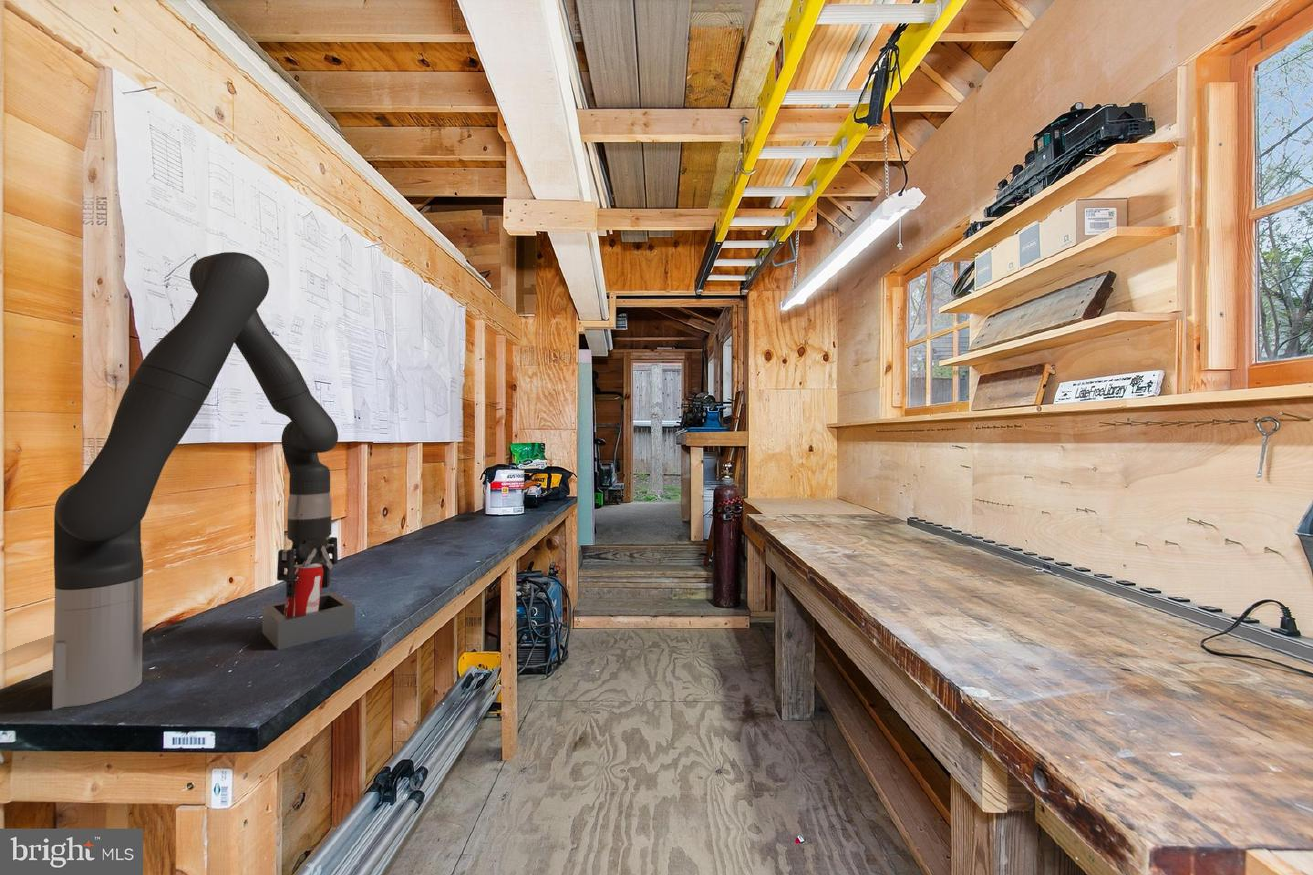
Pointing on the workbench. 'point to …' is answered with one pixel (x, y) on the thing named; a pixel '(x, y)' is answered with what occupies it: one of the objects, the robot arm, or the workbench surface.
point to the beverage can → (305, 591)
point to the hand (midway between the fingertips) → (309, 593)
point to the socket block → (308, 622)
